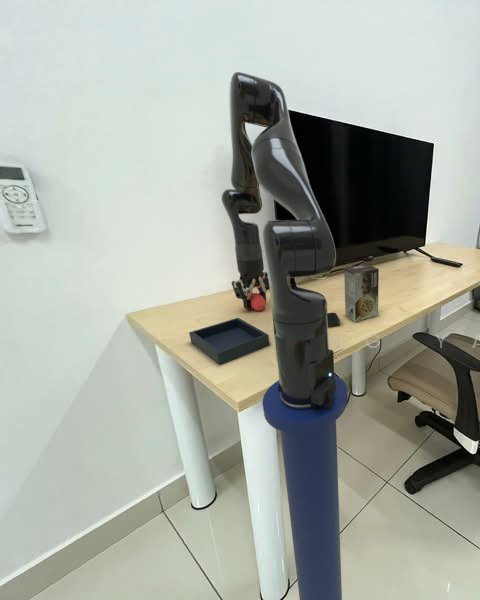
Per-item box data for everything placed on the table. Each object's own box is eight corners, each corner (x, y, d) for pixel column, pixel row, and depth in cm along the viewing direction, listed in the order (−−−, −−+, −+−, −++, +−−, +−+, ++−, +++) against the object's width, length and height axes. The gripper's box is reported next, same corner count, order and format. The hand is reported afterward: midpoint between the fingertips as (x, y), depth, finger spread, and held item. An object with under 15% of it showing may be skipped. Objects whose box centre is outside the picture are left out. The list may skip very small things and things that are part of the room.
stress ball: (263, 305, 109) (253, 290, 107) (271, 304, 102) (260, 288, 100) (250, 314, 106) (239, 298, 104) (257, 313, 99) (245, 296, 97)
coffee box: (367, 309, 107) (367, 263, 101) (378, 315, 102) (379, 268, 97) (344, 315, 101) (343, 267, 95) (355, 322, 97) (354, 272, 91)
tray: (269, 345, 81) (268, 334, 80) (219, 365, 72) (217, 353, 71) (239, 327, 90) (238, 317, 89) (191, 342, 81) (188, 332, 79)
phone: (340, 321, 94) (288, 328, 88) (340, 325, 94) (288, 331, 88) (335, 312, 100) (286, 317, 95) (335, 315, 101) (286, 320, 95)
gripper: (239, 263, 90) (246, 316, 96) (275, 253, 103) (280, 301, 109) (220, 259, 93) (229, 311, 99) (258, 251, 105) (263, 297, 111)
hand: (255, 306), depth 104 cm, fingers closed on stress ball, 5 cm apart
